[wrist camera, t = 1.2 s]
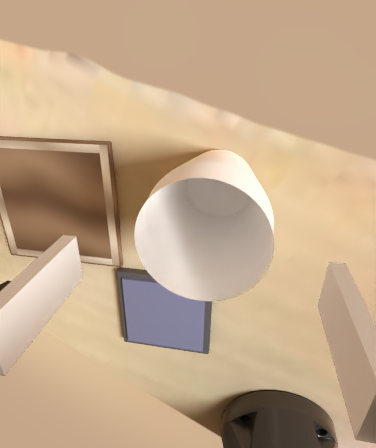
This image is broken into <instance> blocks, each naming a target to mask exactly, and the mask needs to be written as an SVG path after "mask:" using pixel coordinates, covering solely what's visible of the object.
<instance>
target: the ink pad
mask: <svg viewBox="0 0 376 448" xmlns="http://www.w3.org/2000/svg"><path fill="white" fill-rule="evenodd" d="M117 277H118V286H119V296H120V305H121V314H122V323H123V332H124V341H125V342H131V343H138V344H145V345H151V346H158V347H164V348H171V349H178V350H184V351H191V352H197V353H204V354H209V344H210V326H211V309H212V301H199V300H193V299H189V298H185V297H182V296H180V295H177V294H175V293H173V292H171V291H169V290H168V289H166V288H165V287H163V286H162V285H160V284H159V283H158V282H157V281H156V280H155V279H154V278H153V277H152V276H151V275H150V274H149V273H148V272H147V270H138V269H129V268H120V267H119V269H118V270H117Z"/></svg>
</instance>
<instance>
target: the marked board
mask: <svg viewBox="0 0 376 448" xmlns="http://www.w3.org/2000/svg"><path fill="white" fill-rule="evenodd" d="M0 216H1V220H2V223H3V227H4V230H5V234H6V238H7V241H8V245H9V248H10V252H11V255H19V256H27V257H36V258H38V257H39V256H40V255H41V254H43V253H44V252H45V251H46V250H47V249H48V248H49V247H50V246H51V245H53V244H54V243H55V242H56V241H57V240H58V239H59V238H60V237H62V236H63V235H68V236H76V238H77V244H78V250H79V255H80V261H81V263H89V264H98V265H107V266H116V267H122V265H123V257H122V247H121V236H120V226H119V216H118V205H117V195H116V184H115V174H114V164H113V153H112V143H111V142H105V141H84V140H64V139H44V138H23V137H3V136H0Z"/></svg>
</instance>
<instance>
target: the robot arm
mask: <svg viewBox="0 0 376 448" xmlns="http://www.w3.org/2000/svg"><path fill="white" fill-rule="evenodd" d="M82 278H83V272H82V267H81V261H80V255H79V250H78V244H77V238H76V236H68V235H63V236H62V237H60V238H59V239H58V240H57V241H56V242H55V243H54V244H53V245H51V246H50V247H49V248H48V249H47V250H46V251H45V252H44V253H43V254H41V255H40V256H39V257H38V258H37V259H36V260H35V261H34V262H33V263H31V264H30V265H29V266H28V267H27V268H26V269H25V270H24V271H22V272H21V273H20V274H19V275H18V276H17V277H16V278H15V279H14V280H12V281H6V282H4V283H2V284H0V375H2V376H5V375H6V374H7V373H8V371H9V370H10V369H11V368H12V366H13V365H14V364H15V363H16V361H17V360H18V359H19V358H20V356H21V355H22V354H23V352H24V351H25V350H26V349H27V348H28V346H29V345H30V343H32V341H33V340H34V339H35V337H36V336H37V335H38V334H39V332H40V331H41V330H42V329H43V327H44V326H45V325H46V324H47V322H48V321H49V320H50V319H51V317H52V316H53V315H54V314H55V312H56V311H57V310H58V309H59V307H60V306H61V305H62V304H63V302H64V301H65V300H66V299H67V297H68V296H69V295H70V294H71V292H72V291H73V290H74V288H75V287H76V286H77V285H78V283H79V282H80V281H81V280H82ZM318 309H319V312H320V316H321V320H322V323H323V327H324V330H325V334H326V337H327V341H328V344H329V348H330V351H331V355H332V358H333V362H334V366H335V369H336V373H337V376H338V380H339V383H340V387H341V390H342V394H343V397H344V401H345V404H346V408H347V412H348V415H349V419H350V422H351V426H352V429H353V433H354V436H355V440H360V441H365V442H371V443H376V324H375V322H374V320H373V318H372V316H371V314H370V312H369V310H368V308H367V306H366V304H365V302H364V300H363V298H362V296H361V294H360V292H359V289H358V287H357V285H356V283H355V281H354V279H353V277H352V275H351V273H350V271H349V269H348V267H347V265H346V263H337V262H329V263H328V267H327V271H326V275H325V279H324V283H323V287H322V291H321V295H320V299H319V302H318ZM221 437H222V442H223V447H224V448H338V442H337V438H336V433H335V429H334V425H333V422H332V420H331V418H330V417H329V415H328V414H327V413H326V412H325V411H324V410H323V409H322V408H321V407H320V406H318V405H317V404H315V403H314V402H312V401H310V400H308V399H306V398H303V397H301V396H298V395H295V394H291V393H286V392H280V391H259V392H253V393H249V394H246V395H243V396H240V397H238V398H237V399H235V400H233V401H232V402H231V403H230V404H229V405H228V406H227V407H226V409H225V410H224V413H223V416H222V428H221Z"/></svg>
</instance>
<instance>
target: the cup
mask: <svg viewBox="0 0 376 448" xmlns="http://www.w3.org/2000/svg"><path fill="white" fill-rule="evenodd" d="M273 231H274V217H273V211H272V208H271V205H270V202H269V199H268V197H267V195H266V193H265V192H264V190H263V188H262V187H261V185H260V183H259V182H258V180H257V178H256V177H255V175H254V173H253V172H252V170H251V169H250V167H249V165H248V164H247V163H246V162H245V160H243V159H242V158H241V157H240V156H238V155H237V154H235V153H233V152H230V151H227V150H211V151H207V152H205V153H202V154H201V155H199V156H197V157H195V158H193V159H191V160H190V161H188V162H186V163H184V164H182V165H180V166H179V167H177V168H175V169H173V170H172V171H170V172H169V173H168V174H166V175H165V176H164V177H163V178H162V179H161V180H160V181H159V182H158V183H157V184H156V185H155V187H154V188H153V190H152V191H151V193H150V195H149V197H148V199H147V200H146V202H145V203H144V205H143V207H142V208H141V210H140V212H139V215H138V217H137V220H136V224H135V233H134V237H135V246H136V250H137V253H138V256H139V258H140V260H141V262H142V264H143V266H144V267H145V269H146V270H147V272H148V273H149V274H150V275H151V276H152V277H153V278H154V279H155V280H156V281H157V282H158V283H159V284H160V285H162V286H163V287H165V288H166V289H168V290H169V291H171V292H173V293H175V294H177V295H180V296H182V297H185V298H189V299H193V300H199V301H220V300H226V299H230V298H233V297H236V296H238V295H241V294H243V293H245V292H246V291H248V290H249V289H251V288H252V287H253V286H255V285H256V284H257V283H258V282H259V281H260V280H261V279H262V277H263V276H264V275H265V273H266V271H267V270H268V268H269V266H270V263H271V260H272V257H273V252H274V234H273Z"/></svg>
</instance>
